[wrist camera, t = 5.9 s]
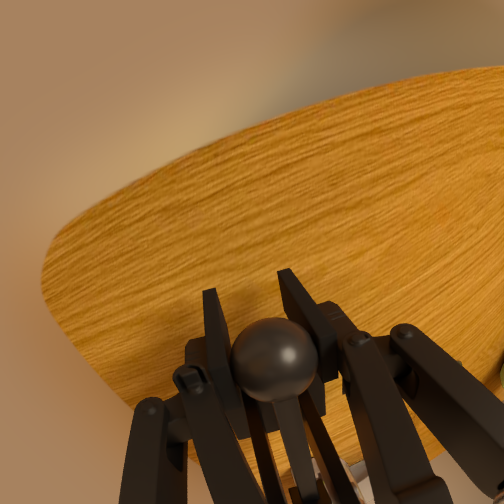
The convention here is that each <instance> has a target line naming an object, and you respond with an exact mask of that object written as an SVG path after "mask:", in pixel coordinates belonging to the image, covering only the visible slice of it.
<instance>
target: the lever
mask: <svg viewBox="0 0 504 504" xmlns="http://www.w3.org/2000/svg"><path fill="white" fill-rule="evenodd" d="M317 367H318V352H317V348H316V345H315V342H314V340H313V339H312V337H311V336H310V334H309V333H308V332H307V331H306V330H305V329H304V328H303V327H302V326H301V325H299V324H297V323H296V322H293V321H291V320H288V319H285V318H278V317H272V318H265V319H261V320H258V321H256V322H254V323H252V324H250V325H249V326H247V327H246V328H245V329H244V330H243V331H242V332H241V333H240V334H239V335H238V337H237V338H236V340H235V342H234V344H233V346H232V349H231V353H230V368H231V372H232V375H233V378H234V380H235V381H236V383H237V385H238V386H239V387H240V388H241V390H243V391H244V392H245V393H246V394H247V395H249V396H250V397H252V398H254V399H256V400H259V401H262V402H267V403H272V405H273V409H274V412H275V415H276V419H277V422H278V426H279V429H280V433H281V436H282V439H283V443H284V446H285V449H286V453H287V456H288V459H289V463H290V466H291V469H292V473H293V476H294V479H295V482H296V486H295V487H292V488H288V490H289V493H290V497H291V500H292V503H293V504H332V501H331V499H330V497H329V494H328V492H327V490H326V488H325V486H324V483H323V481H322V479H318V480H316V477H315V472H314V468H313V463H312V459H311V454H310V450H309V445H308V441H307V436H306V432H305V427H304V423H303V418H302V414H301V410H300V405H299V401H298V395H300V394H301V393H302V392H304V391H305V390H306V389H307V388H308V386H309V385H310V384H311V382H312V381H313V379H314V377H315V374H316V371H317Z"/></svg>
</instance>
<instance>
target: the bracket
mask: <svg viewBox="0 0 504 504" xmlns="http://www.w3.org/2000/svg"><path fill="white" fill-rule="evenodd" d="M239 390H240V394H241V399H242V404H243V407H242V408H238V409H233V410H229V411H226V409H225V407H224V410H225V414H226V416H227V418H228V420H229V422H230V424H231V426H232V428H233V430H234V432H235V434H236V436H237V438H238V440H241V439H246V438H250V437H251V440H252V444H253V448H254V452H255V457H256V461H257V465H258V469H259V473H260V477H261V481H262V485H263V489H264V493H265V497H266V500H267V502H268V504H288V503H287V500H286V497H285V493H284V490H283V487H282V483H281V480H280V477H279V473H278V470H277V467H276V463H275V460H274V456H273V453H272V449H271V446H270V442H269V439H268V435H267V433H270V432H274V431H277V430H280V429H279V426H278V422H277V419H276V415H275V412H274V409H273V405H272V403H267V402H262V401H259V400H256V399H254V398H252V397H250V396H249V395H247V394H246V393H245V392H244V391H243V390H241V388H240V387H239ZM298 401H299V405H300V410H301V414H302V418H303V423H304V427H305V432H306V436H307V440H308V443H309V445H310V448H311V451H312V453H313V456H314V458H315V461H316V463H317V466H318V468H319V470H320V473H321V475H322V478H323V480H324V483H325V485H326V488H327V490H328V493H329V495H330V498H331V500H332V502H333V504H361V503H360V501H359V499H358V498H359V491H358V488H357V486H356V484H355V483H354V482H350V480H349V477H348V475H347V473H346V471H345V469H344V467H343V465H342V462H341V460H340V458H339V456H338V454H337V452H336V450H335V447H334V445H333V443H332V441H331V439H330V437H329V434H328V432H327V430H326V428H325V426H324V424H323V421H322V419H321V417H322V416H325V415H326V406H325V387H324V383H322V381H321V379H320V377H319V376H318V374H317V372H316V374H315V377H314V379H313V381H312V382H311V384H310V385H309V386H308V388H307V389H306V390H305V391H304V392H302V393H301V394H300V395H298Z"/></svg>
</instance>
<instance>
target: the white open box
mask: <svg viewBox="0 0 504 504" xmlns="http://www.w3.org/2000/svg"><path fill="white" fill-rule="evenodd" d="M349 468H350V470H351V472H352V474H353V476H354V478H355V481H356V483H357V485H358V487H359V489H360V491H361V493H362V495H363V497H364V499H365V501H366V503H368V502H370V501H371V500H373V499H374V497H373V492H372V488H371V484H370V480H369V476H368V472H367V468H366V465H365V461H364V460H362V461H360V462H358V463H356V464H354V465H352V466H350V467H349Z"/></svg>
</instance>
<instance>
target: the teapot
mask: <svg viewBox="0 0 504 504" xmlns="http://www.w3.org/2000/svg"><path fill="white" fill-rule="evenodd" d="M500 379H501V384H502V387H503V388H504V364H503V366H502V369H501V372H500Z"/></svg>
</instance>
